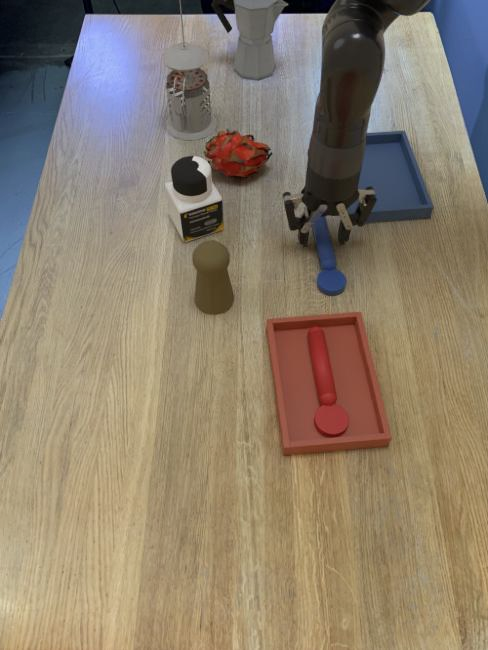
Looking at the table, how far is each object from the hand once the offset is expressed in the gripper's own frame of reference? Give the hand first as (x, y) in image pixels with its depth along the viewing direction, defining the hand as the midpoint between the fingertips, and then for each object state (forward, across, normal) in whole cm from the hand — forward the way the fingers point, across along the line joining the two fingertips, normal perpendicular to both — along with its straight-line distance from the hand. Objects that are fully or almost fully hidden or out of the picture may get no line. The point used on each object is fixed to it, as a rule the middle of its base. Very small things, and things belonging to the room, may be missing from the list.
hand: (322, 242), depth 96 cm
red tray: (+1, -4, -25) cm, 25 cm away
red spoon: (0, -4, -26) cm, 26 cm away
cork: (+1, -18, -9) cm, 20 cm away
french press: (+1, -20, +32) cm, 38 cm away
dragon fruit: (+1, -12, +19) cm, 22 cm away
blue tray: (+1, +12, +14) cm, 18 cm away
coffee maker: (+1, -7, +50) cm, 50 cm away
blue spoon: (+1, 0, -3) cm, 3 cm away
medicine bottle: (+1, -20, +7) cm, 21 cm away
